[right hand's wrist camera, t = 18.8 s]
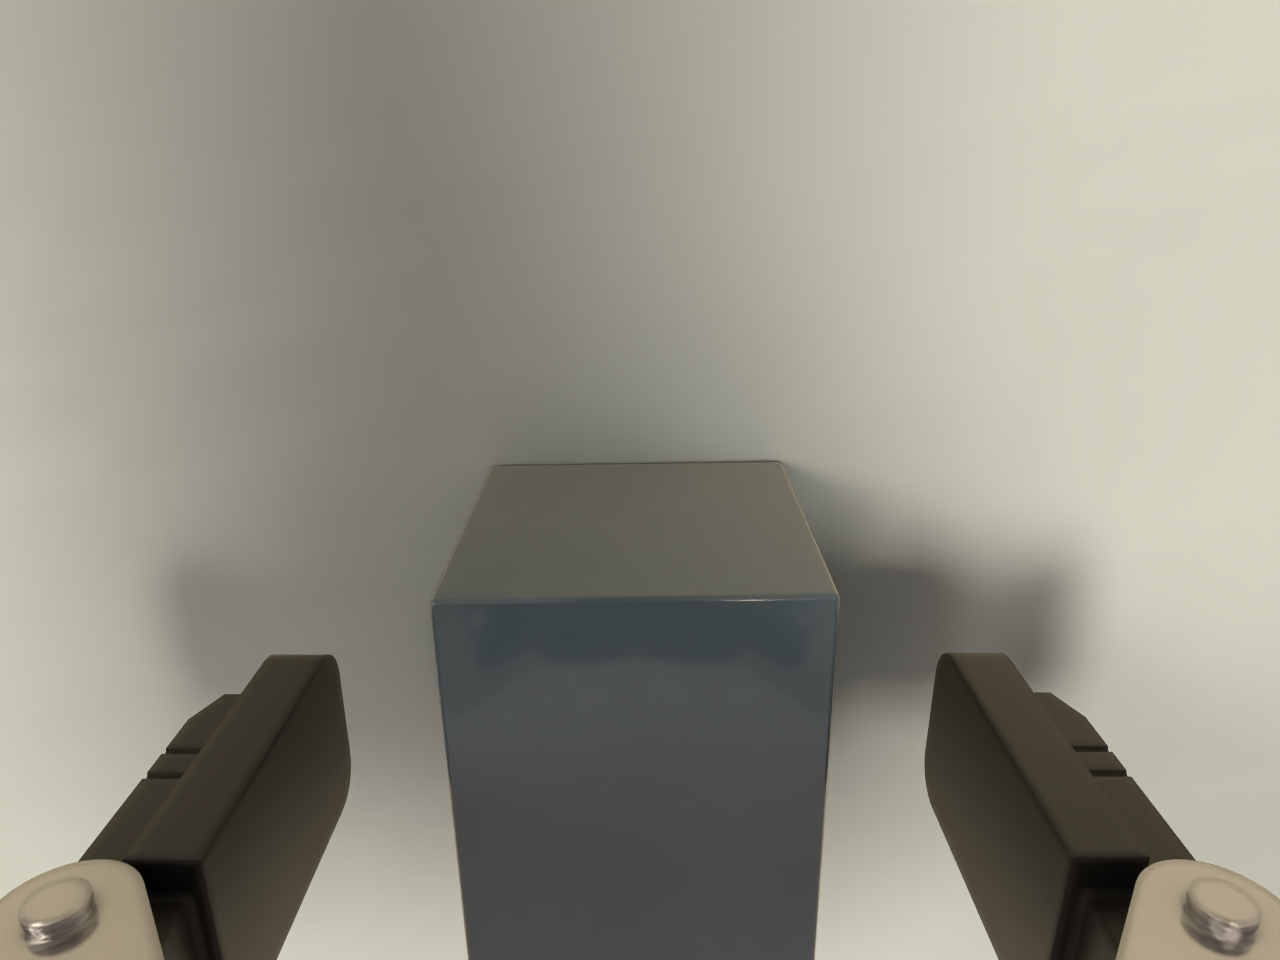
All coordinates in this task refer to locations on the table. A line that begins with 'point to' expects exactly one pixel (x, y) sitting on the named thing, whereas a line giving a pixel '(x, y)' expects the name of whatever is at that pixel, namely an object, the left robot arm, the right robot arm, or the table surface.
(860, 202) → the table surface
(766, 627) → the block
